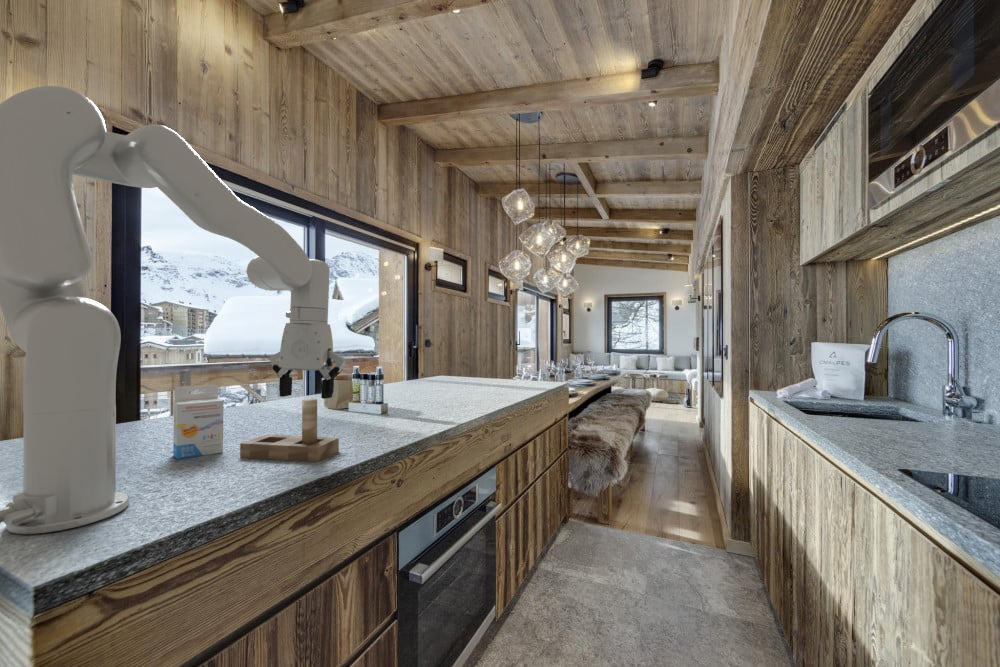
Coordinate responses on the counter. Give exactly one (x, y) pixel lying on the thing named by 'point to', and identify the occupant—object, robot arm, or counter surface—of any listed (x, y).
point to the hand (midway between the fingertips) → (306, 396)
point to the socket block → (288, 448)
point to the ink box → (197, 422)
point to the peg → (309, 421)
